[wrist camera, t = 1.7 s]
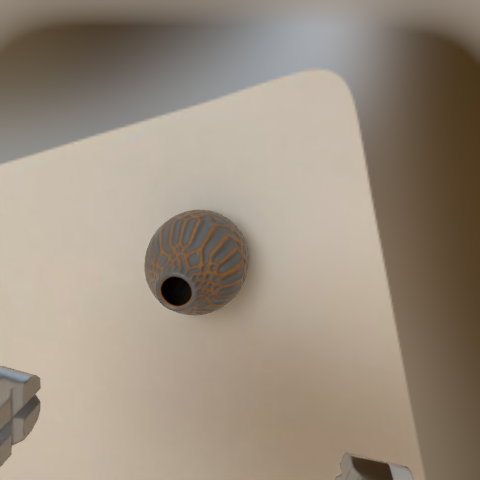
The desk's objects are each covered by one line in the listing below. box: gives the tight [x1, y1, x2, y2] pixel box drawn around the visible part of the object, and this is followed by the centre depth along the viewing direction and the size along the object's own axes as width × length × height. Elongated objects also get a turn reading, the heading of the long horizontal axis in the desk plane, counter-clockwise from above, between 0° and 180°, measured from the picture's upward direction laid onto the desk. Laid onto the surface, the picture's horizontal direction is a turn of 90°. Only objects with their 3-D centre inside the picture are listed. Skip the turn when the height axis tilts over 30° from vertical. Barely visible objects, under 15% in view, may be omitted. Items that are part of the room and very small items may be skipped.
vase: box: [145, 210, 248, 315], centre depth 25 cm, size 7×7×9 cm
